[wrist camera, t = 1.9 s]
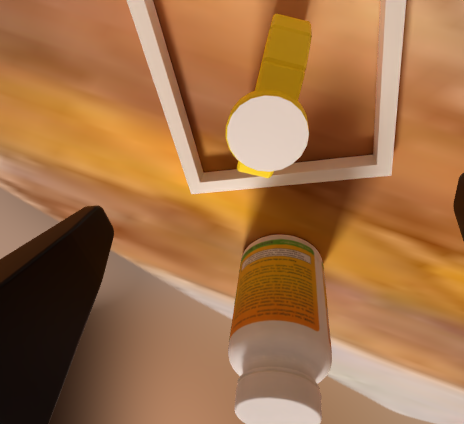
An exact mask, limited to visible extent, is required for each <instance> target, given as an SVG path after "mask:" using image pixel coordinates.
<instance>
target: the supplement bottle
mask: <svg viewBox="0 0 464 424" xmlns="http://www.w3.org/2000/svg"><path fill="white" fill-rule="evenodd" d="M228 349H229V350H228V355H229V360H230V363H231V365H232V367H233V369H234V370H235V371H236V373H237V374H238V375H239V376H240V377H239V379H238V384H237V389H236V399H235V413H236V415H237V417H238V418H239V419H240V420H241V421H243V422H244V423H246V424H320V422H321V419H322V415H321V393H320V390H319V386H318V383H319V382H320V381H322V380H323V379H324V378H325V377H326V376H327V374H328V372H329V370H330V368H331V362H332V351H331V340H330V330H329V320H328V309H327V298H326V287H325V276H324V267H323V261H322V258H321V255H320V254H319V252H318V251H317V249H316V248H315V247H314V246H313V245H311V244H310V243H308V242H307V241H305V240H303V239H301V238H298V237H295V236H290V235H282V234H276V235H270V236H266V237H262V238H260V239H258V240H256V241H254V242H253V243H251V244H250V245H249V246H248V247H247V248H246V250H245V251H244V253H243V255H242V258H241V264H240V270H239V278H238V285H237V292H236V299H235V306H234V313H233V319H232V326H231V333H230V339H229V348H228Z"/></svg>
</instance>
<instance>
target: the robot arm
mask: <svg viewBox="0 0 464 424" xmlns="http://www.w3.org/2000/svg"><path fill="white" fill-rule="evenodd" d="M454 213H455V216H456V219H457V222H458V225H459V228H460V231H461V235H462V238H463V241H464V173H462V174H461V176H460V177H459V181H458V185H457V190H456V194H455V199H454ZM113 237H114V229H113V226H112V225H111V223H110V221H109V219H108V217H107V215H106V213H105V211H104V210H103V208H102V207H100V206H87V207H84V208H82V209H81V210H79V211H78V212H76V213H74V214H73V215H71V216H69V217H68V218H66V219H65V220H63V221H61V222H60V223H58V224H57V225H55V226H54V227H52V228H50V229H48V230H47V231H45V232H44V233H42V234H40V235H39V236H37V237H36V238H34V239H32V240H31V241H29V242H28V243H26V244H24V245H23V246H21V247H19V248H18V249H16V250H15V251H13V252H11V253H10V254H8V255H6V256H5V257H3V258H2V259H0V424H48V423H49V421H50V418H51V415H52V412H53V410H54V408H55V405H56V402H57V399H58V397H59V394H60V391H61V389H62V386H63V383H64V381H65V378H66V375H67V373H68V370H69V368H70V365H71V362H72V360H73V357H74V354H75V352H76V349H77V346H78V344H79V341H80V338H81V336H82V333H83V331H84V328H85V325H86V323H87V320H88V317H89V315H90V312H91V309H92V307H93V304H94V301H95V299H96V296H97V293H98V290H99V288H100V285H101V282H102V279H103V275H104V272H105V268H106V264H107V260H108V256H109V252H110V248H111V245H112V241H113Z"/></svg>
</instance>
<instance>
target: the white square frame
mask: <svg viewBox="0 0 464 424" xmlns="http://www.w3.org/2000/svg"><path fill="white" fill-rule="evenodd" d="M127 3H128V6H129V9H130V12H131V15H132V18H133V21H134V24H135V27H136V30H137V33H138V36H139V39H140V42H141V45H142V48H143V51H144V54H145V57H146V60H147V63H148V66H149V69H150V72H151V75H152V78H153V81H154V84H155V87H156V90H157V93H158V96H159V99H160V102H161V105H162V108H163V111H164V114H165V117H166V120H167V123H168V126H169V129H170V132H171V135H172V138H173V141H174V144H175V147H176V150H177V153H178V156H179V159H180V162H181V165H182V168H183V171H184V174H185V177H186V180H187V183H188V186H189V189H190V192H191V194H198V193H209V192H220V191H230V190H241V189H252V188H262V187H273V186H284V185H295V184H305V183H316V182H327V181H338V180H348V179H359V178H370V177H380V176H391V175H392V163H393V151H394V139H395V127H396V116H397V104H398V92H399V80H400V68H401V57H402V45H403V33H404V21H405V9H406V0H380V18H379V39H378V61H377V83H376V105H375V126H374V148H373V155H363V156H354V157H345V158H335V159H326V160H317V161H307V162H298V163H293V164H292V165H290V166H288V167H286V168H284V169H281V170H276V171H274V172H273V174H272V176H271V177H270V178H264V177H260V176H256V175H252V174H247V173H243V172H239V171H238V170H237V169H233V170H223V171H214V172H203V169H202V165H201V162H200V159H199V155H198V152H197V148H196V145H195V142H194V138H193V135H192V131H191V128H190V125H189V121H188V118H187V114H186V111H185V108H184V104H183V101H182V97H181V94H180V91H179V87H178V84H177V80H176V77H175V74H174V70H173V67H172V63H171V60H170V57H169V53H168V50H167V46H166V43H165V40H164V36H163V33H162V29H161V26H160V23H159V19H158V16H157V12H156V9H155V6H154V2H153V0H127Z"/></svg>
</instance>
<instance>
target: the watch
mask: <svg viewBox="0 0 464 424" xmlns="http://www.w3.org/2000/svg"><path fill="white" fill-rule="evenodd" d="M311 37H312V36H311V24H310V22H309V21H305V20H301V19H297V18H293V17H289V16H285V15H281V14H277V13H276V14H275V15H273V18H272V21H271V25H270V29H269V33H268V37H267V41H266V45H265V48H264V49H265V50H264V54H263V58H262V62H261V66H260V70H259V75H258V79H257V83H256V87H255V91H252V92H250V93H249V94H247V95H245V96H244V97H242V98H241V99H240V100H239V101H238V102H237V103H236V105H235V106H234V107H233V108H232V110H231V113H230V116H229V118H228V121H227V124H226V141H227V144H228V147H229V150H230V151H231V153H232V154H233V155H234V157H235V158H236V159H237V160H238V164H237V170H238V171H239V172H243V173H247V174H252V175H256V176H260V177H264V178H270V177H271V176H272V174H273V172H274V171H276V170H281V169H284V168H286V167H288V166H290V165H292V164H293V163H294V162H295V161H296V160H297V159H298V158H299V157H301V155H302V153H303V152H304V150H305V148H306V146H307V143H308V138H309V126H308V120H307V115H306V113H305V111H304V109H303V107H302V105H301V104H300V103H299V102H298V98H299V94H300V91H301V87H302V83H303V79H304V75H305V73H304V72H305V70H306V66H307V60H308V54H309V49H310V43H311Z"/></svg>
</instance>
